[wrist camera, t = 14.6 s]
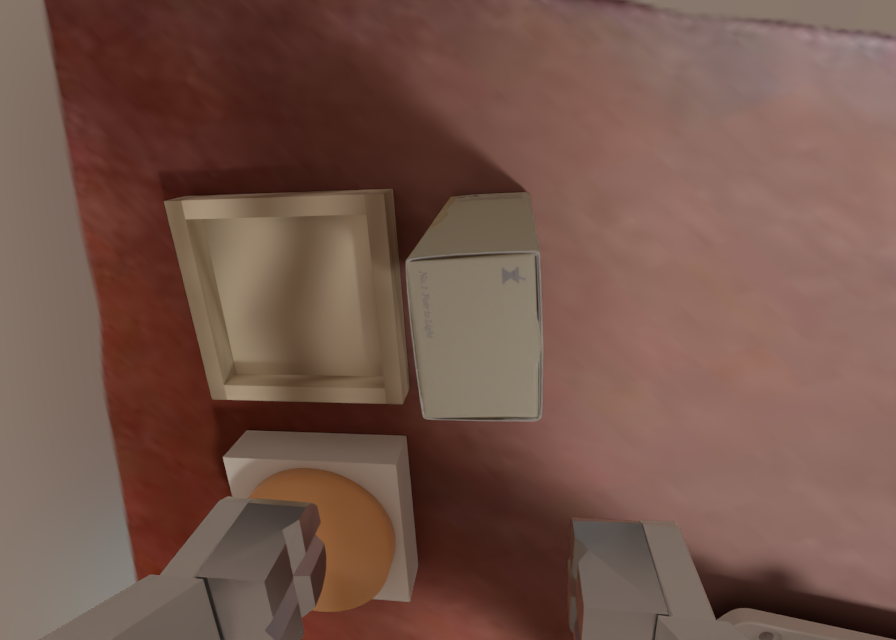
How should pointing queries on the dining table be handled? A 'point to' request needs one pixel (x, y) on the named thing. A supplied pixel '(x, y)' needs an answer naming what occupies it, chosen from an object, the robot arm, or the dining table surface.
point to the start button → (341, 533)
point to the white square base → (351, 456)
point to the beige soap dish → (295, 294)
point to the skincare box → (478, 311)
